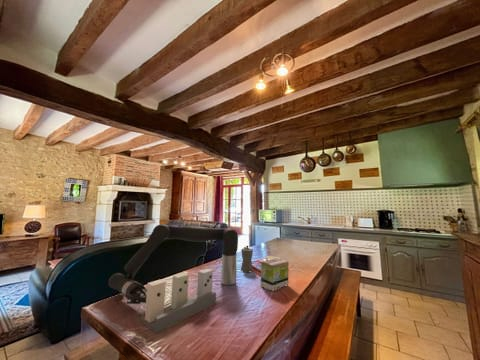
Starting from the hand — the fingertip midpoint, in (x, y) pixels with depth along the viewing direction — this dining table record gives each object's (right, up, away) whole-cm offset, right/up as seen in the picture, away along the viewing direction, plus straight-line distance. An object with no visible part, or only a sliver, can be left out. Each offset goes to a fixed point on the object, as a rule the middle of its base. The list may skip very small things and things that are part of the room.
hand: (150, 301), depth 85 cm
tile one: (+2, -6, -2) cm, 6 cm away
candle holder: (+61, -16, +56) cm, 84 cm away
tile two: (+10, -7, +7) cm, 14 cm away
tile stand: (+11, -8, +6) cm, 15 cm away
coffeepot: (+43, -17, +67) cm, 81 cm away
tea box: (+59, -13, +37) cm, 71 cm away
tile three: (+20, -8, +14) cm, 26 cm away
